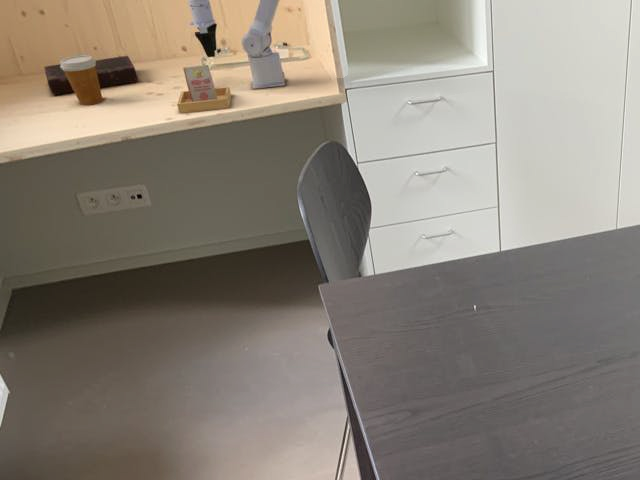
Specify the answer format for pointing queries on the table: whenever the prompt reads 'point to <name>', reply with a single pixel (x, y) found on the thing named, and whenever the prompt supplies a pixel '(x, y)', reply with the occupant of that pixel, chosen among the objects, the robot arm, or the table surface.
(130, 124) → the table surface
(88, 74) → the disposable coffee cup
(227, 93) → the tray
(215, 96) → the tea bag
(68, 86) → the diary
